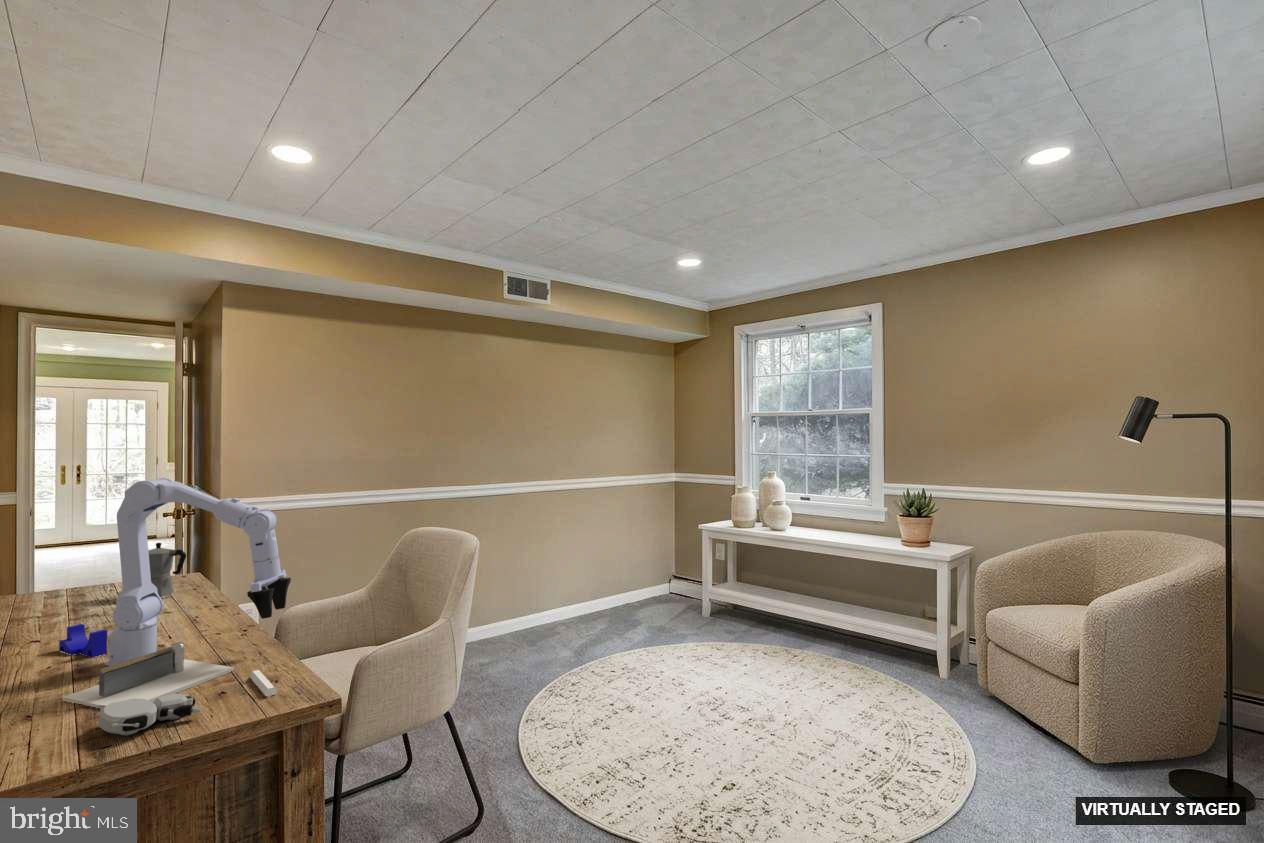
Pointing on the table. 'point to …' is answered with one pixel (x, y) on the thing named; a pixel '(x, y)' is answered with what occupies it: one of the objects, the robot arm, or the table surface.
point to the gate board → (154, 685)
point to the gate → (135, 671)
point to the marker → (263, 683)
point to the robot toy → (144, 712)
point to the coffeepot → (164, 568)
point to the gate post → (178, 657)
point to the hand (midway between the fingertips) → (273, 613)
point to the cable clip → (84, 642)
